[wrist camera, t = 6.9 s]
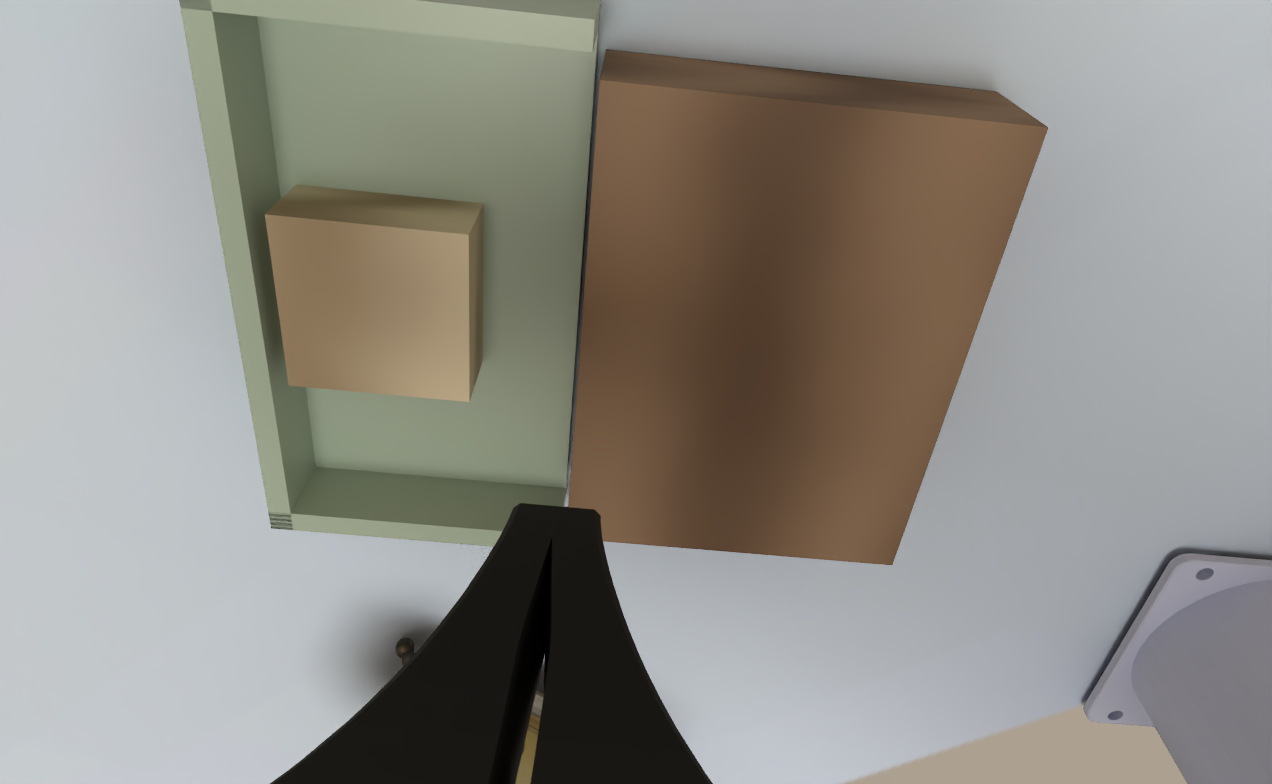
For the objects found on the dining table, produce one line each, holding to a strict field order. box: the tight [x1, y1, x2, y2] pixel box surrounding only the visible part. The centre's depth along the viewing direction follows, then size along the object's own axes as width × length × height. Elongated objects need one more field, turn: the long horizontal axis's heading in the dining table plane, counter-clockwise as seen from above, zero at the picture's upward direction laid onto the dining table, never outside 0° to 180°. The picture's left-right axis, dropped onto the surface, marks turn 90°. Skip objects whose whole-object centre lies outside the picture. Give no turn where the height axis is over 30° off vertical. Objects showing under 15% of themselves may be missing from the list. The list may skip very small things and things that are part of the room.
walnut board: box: [568, 50, 1048, 565], centre depth 21 cm, size 9×12×3 cm
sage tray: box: [179, 0, 601, 546], centre depth 21 cm, size 8×14×2 cm, turn 174°
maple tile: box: [265, 184, 483, 402], centre depth 21 cm, size 4×4×2 cm
